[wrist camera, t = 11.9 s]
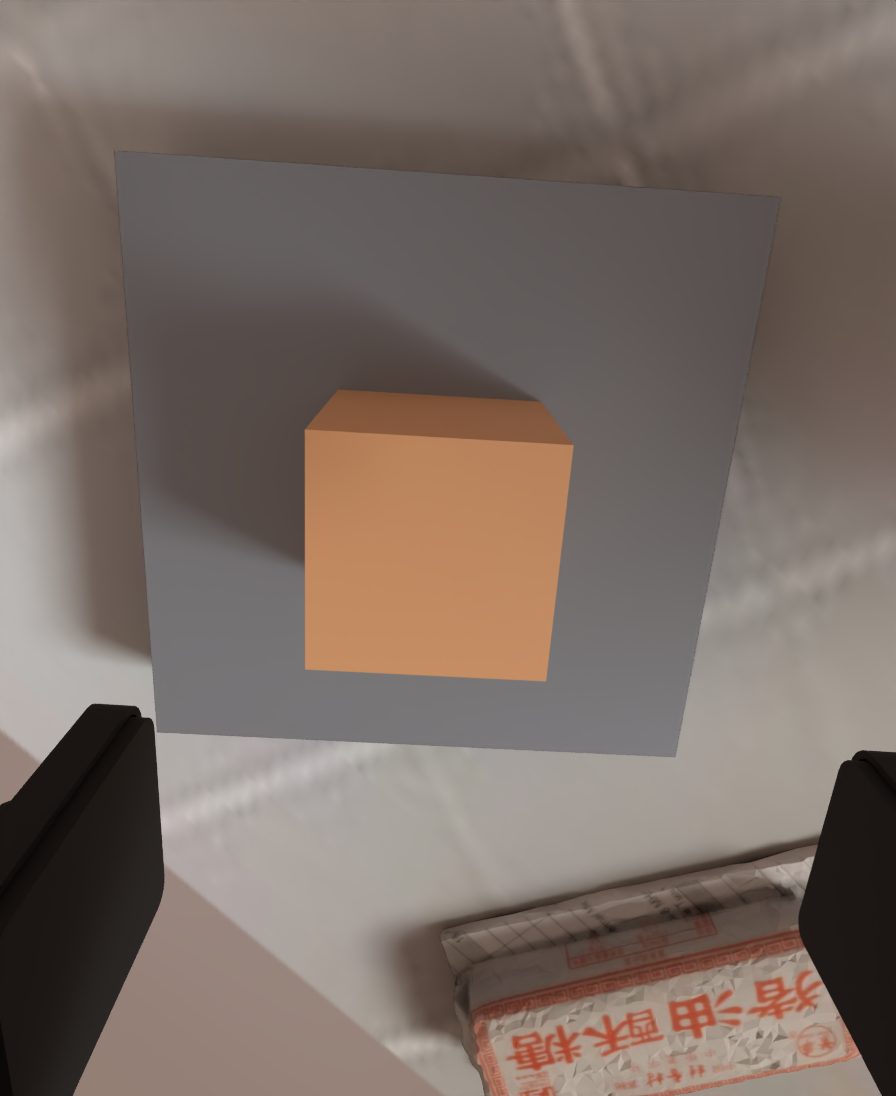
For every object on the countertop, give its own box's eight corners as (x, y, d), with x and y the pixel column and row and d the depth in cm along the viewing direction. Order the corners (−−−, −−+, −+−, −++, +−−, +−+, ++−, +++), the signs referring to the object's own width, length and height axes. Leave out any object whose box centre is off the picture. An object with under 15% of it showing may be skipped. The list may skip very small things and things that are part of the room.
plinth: (729, 207, 25) (781, 197, 21) (646, 698, 31) (675, 757, 27) (164, 168, 25) (114, 150, 21) (191, 675, 31) (157, 732, 27)
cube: (541, 401, 23) (573, 445, 18) (522, 588, 25) (546, 681, 20) (338, 389, 23) (305, 429, 17) (335, 578, 25) (305, 669, 19)
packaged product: (499, 1175, 34) (437, 1013, 31) (493, 1068, 39) (438, 918, 36) (916, 1094, 33) (897, 915, 29) (858, 993, 37) (836, 829, 34)
